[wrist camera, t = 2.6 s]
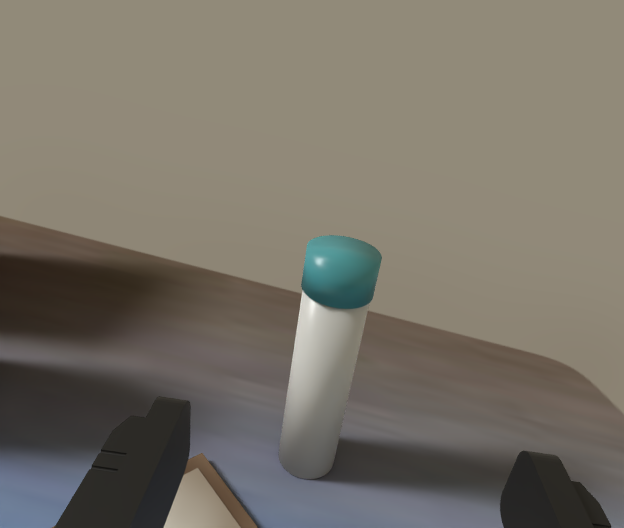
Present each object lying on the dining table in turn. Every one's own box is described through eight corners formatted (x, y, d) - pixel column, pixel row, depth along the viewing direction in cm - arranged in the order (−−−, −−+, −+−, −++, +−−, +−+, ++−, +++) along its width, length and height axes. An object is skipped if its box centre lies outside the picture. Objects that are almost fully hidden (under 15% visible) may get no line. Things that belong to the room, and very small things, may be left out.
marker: (302, 491, 25) (343, 275, 20) (264, 448, 27) (291, 242, 22) (347, 462, 27) (397, 259, 22) (309, 424, 30) (345, 231, 24)
